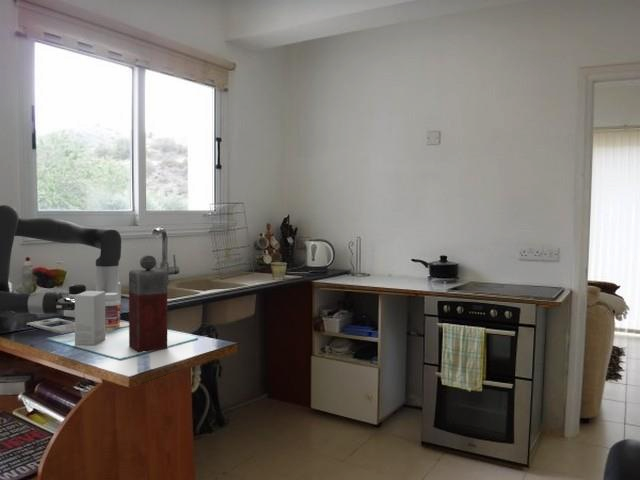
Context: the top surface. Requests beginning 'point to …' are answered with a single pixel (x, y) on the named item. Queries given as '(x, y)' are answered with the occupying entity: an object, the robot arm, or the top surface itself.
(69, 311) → the medicine bottle
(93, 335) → the skincare box
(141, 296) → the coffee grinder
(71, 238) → the robot arm
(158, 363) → the top surface
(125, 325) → the coaster
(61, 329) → the white rectangular panel
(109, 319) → the pill bottle
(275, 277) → the ceramic cup
